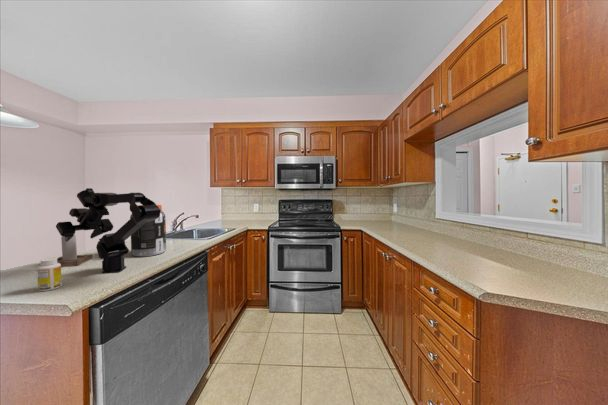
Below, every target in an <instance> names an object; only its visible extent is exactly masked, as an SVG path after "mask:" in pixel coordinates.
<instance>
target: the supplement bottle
mask: <svg viewBox="0 0 608 405" xmlns="http://www.w3.org/2000/svg"><path fill="white" fill-rule="evenodd" d="M57 258H58V257H48V258H47V257H46V258H43V259H41V260H40V261H39V262H40V265H38V267H37V269H36V270H37V271H36V272H37V283H38V284H37V286H38V287H37V288H38V291H40V292H48V291H53V290H57V289H58V288H60V287H62V286H63V281H62V278H63V277H62V267H61V264H60V263H57Z"/></svg>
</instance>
